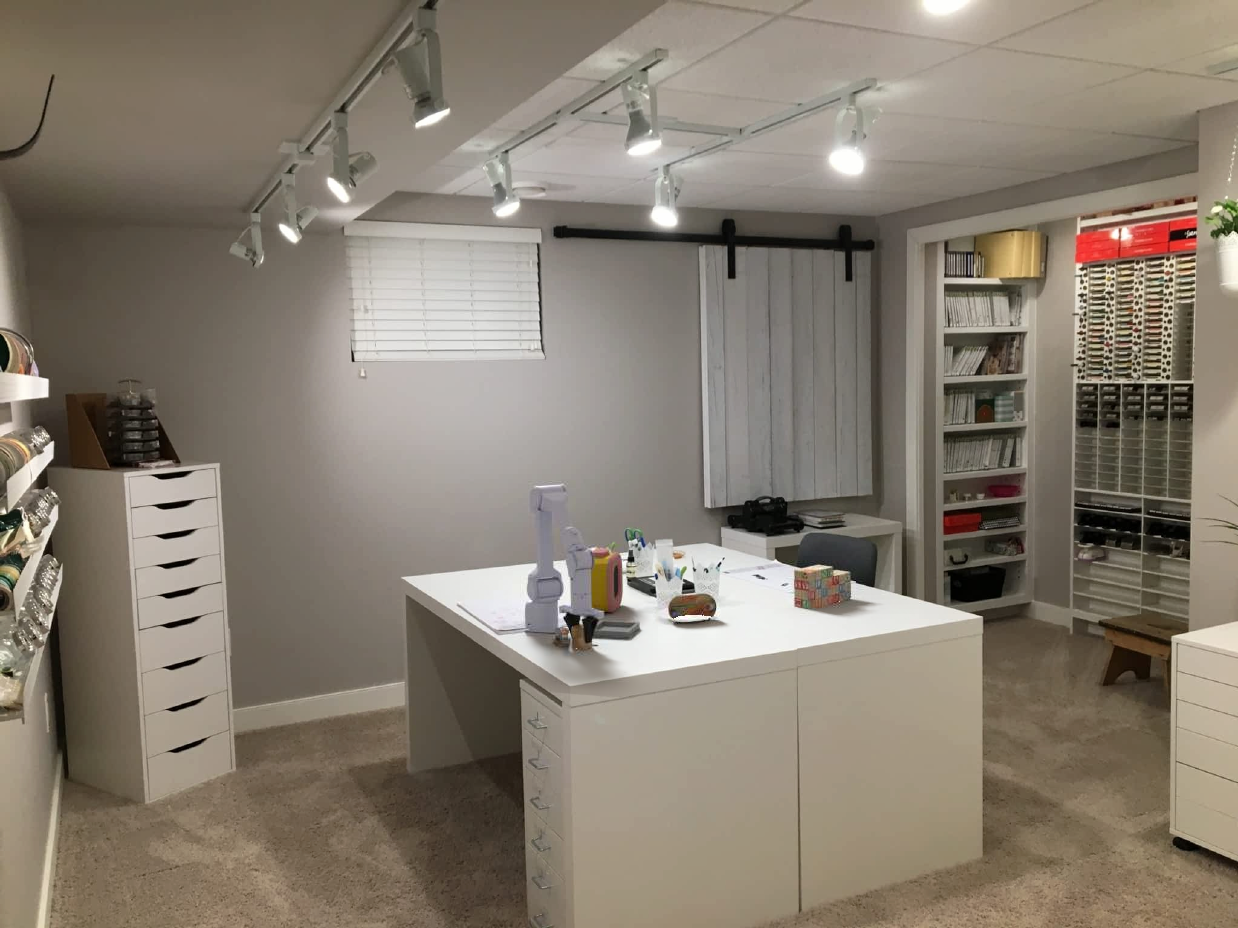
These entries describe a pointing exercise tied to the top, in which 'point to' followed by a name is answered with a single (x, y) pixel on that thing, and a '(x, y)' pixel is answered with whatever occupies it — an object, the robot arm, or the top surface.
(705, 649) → the top surface
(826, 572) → the stack of blocks
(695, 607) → the tin
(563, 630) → the crank
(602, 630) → the tray
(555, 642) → the crank base
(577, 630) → the stop block
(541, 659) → the top surface
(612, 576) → the alarm clock
